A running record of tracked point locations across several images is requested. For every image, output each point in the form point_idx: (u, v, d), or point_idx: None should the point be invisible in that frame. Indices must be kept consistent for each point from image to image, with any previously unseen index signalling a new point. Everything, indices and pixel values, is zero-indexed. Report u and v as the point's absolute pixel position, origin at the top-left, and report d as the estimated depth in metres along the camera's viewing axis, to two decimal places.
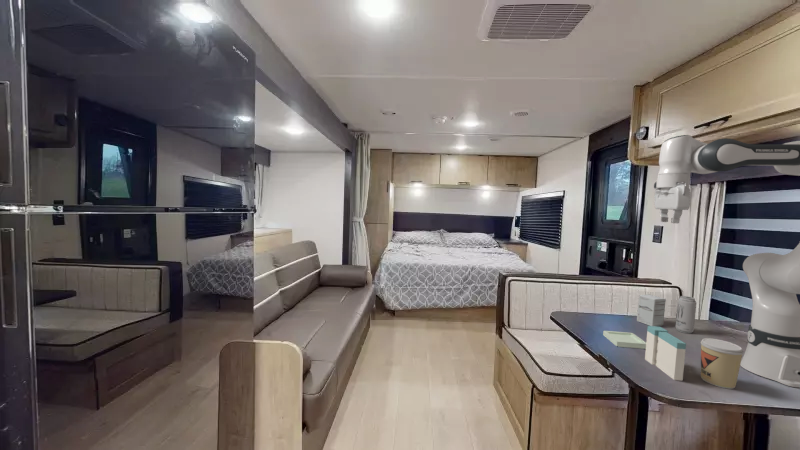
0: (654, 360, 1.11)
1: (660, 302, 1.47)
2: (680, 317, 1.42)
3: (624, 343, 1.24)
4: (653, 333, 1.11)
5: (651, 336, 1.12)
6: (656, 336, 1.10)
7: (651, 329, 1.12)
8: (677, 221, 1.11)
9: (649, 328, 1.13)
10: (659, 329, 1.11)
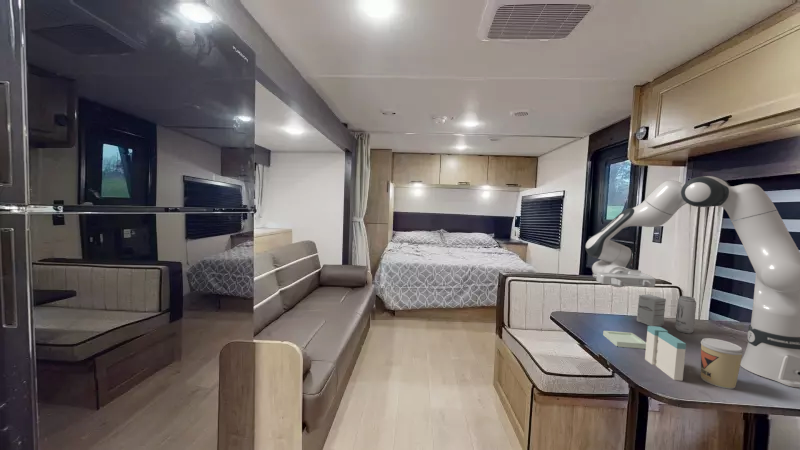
0: (654, 360, 1.11)
1: (660, 302, 1.47)
2: (680, 317, 1.42)
3: (624, 343, 1.24)
4: (653, 333, 1.11)
5: (651, 336, 1.12)
6: (656, 336, 1.10)
7: (651, 329, 1.12)
8: (619, 282, 1.26)
9: (649, 328, 1.13)
10: (659, 329, 1.11)
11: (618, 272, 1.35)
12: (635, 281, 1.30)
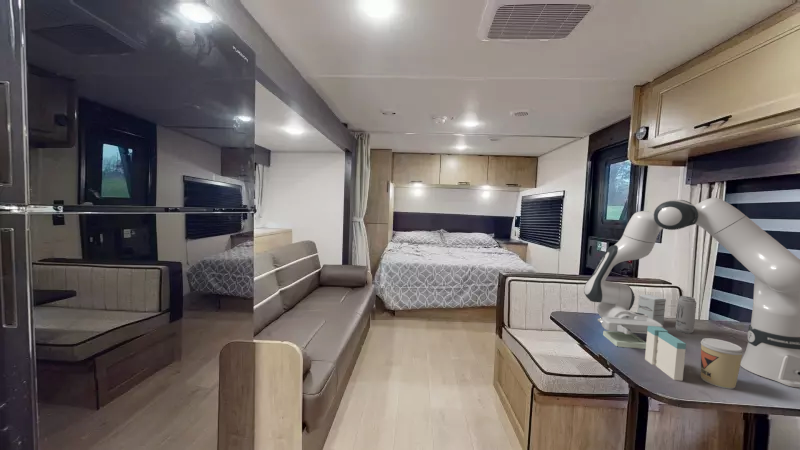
0: (654, 360, 1.11)
1: (660, 302, 1.47)
2: (680, 317, 1.42)
3: (624, 343, 1.24)
4: (653, 333, 1.11)
5: (651, 336, 1.12)
6: (656, 336, 1.10)
7: (651, 329, 1.12)
8: (625, 330, 1.22)
9: (649, 328, 1.13)
10: (659, 329, 1.11)
11: (624, 317, 1.31)
12: (642, 328, 1.26)
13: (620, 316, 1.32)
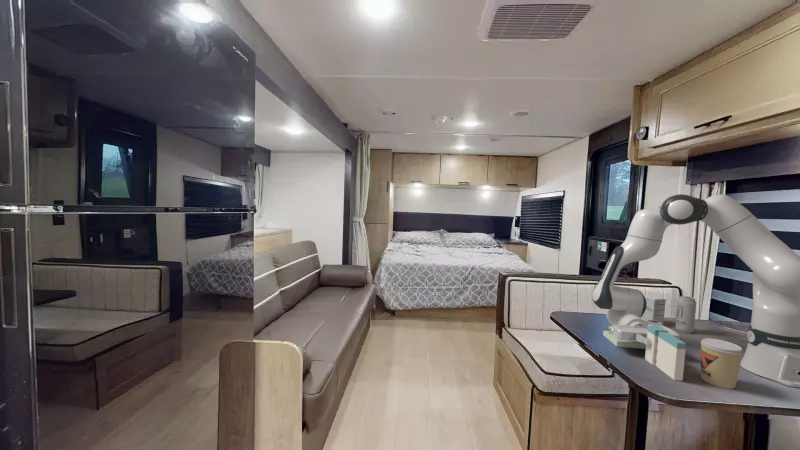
0: (654, 360, 1.11)
1: (660, 302, 1.47)
2: (680, 317, 1.42)
3: (624, 343, 1.24)
4: (653, 333, 1.11)
5: (651, 336, 1.12)
6: (656, 336, 1.10)
7: (651, 329, 1.12)
8: (646, 340, 1.13)
9: (649, 328, 1.13)
10: (659, 329, 1.11)
11: (637, 325, 1.22)
12: None
13: (632, 324, 1.23)
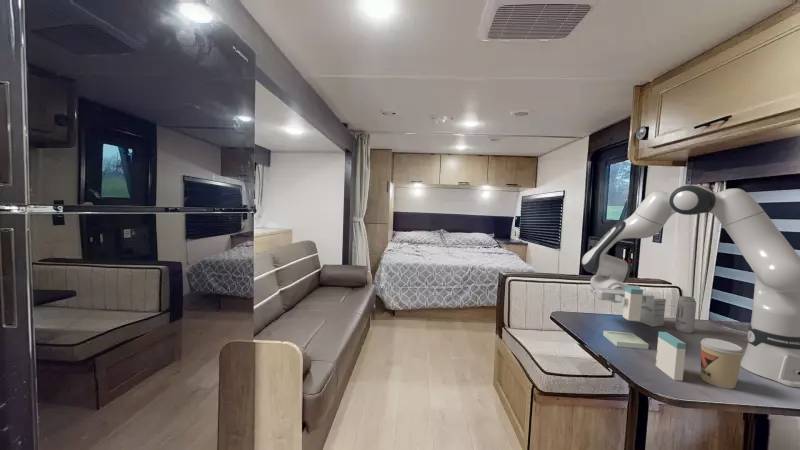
0: (630, 316, 1.24)
1: (660, 302, 1.47)
2: (680, 317, 1.42)
3: (624, 343, 1.24)
4: (630, 292, 1.24)
5: (628, 295, 1.24)
6: (632, 294, 1.23)
7: (628, 289, 1.25)
8: (623, 299, 1.25)
9: (626, 288, 1.26)
10: (635, 288, 1.24)
11: (617, 288, 1.34)
12: None
13: (613, 287, 1.35)
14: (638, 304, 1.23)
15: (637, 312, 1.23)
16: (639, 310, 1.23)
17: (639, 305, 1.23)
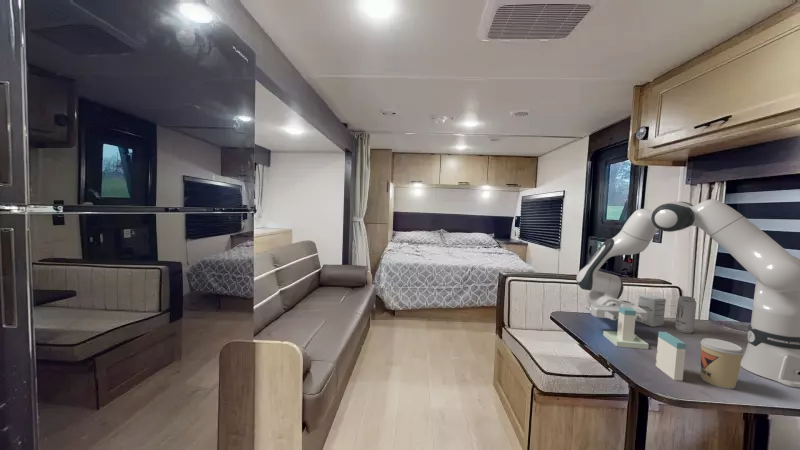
0: (624, 336, 1.28)
1: (660, 302, 1.47)
2: (680, 317, 1.42)
3: (624, 343, 1.24)
4: (623, 313, 1.28)
5: (622, 316, 1.29)
6: (626, 315, 1.27)
7: (622, 310, 1.29)
8: (612, 316, 1.29)
9: (620, 309, 1.30)
10: (628, 309, 1.28)
11: (611, 304, 1.38)
12: None
13: (608, 304, 1.39)
14: (631, 325, 1.27)
15: (631, 333, 1.27)
16: (633, 330, 1.27)
17: (632, 326, 1.27)
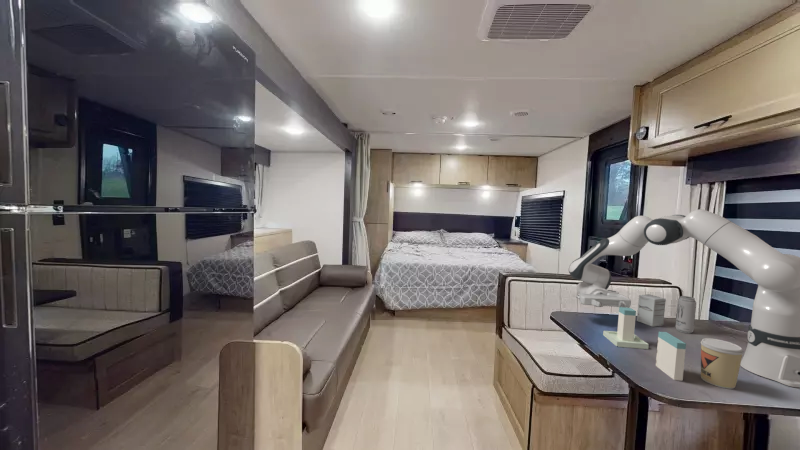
0: (624, 336, 1.28)
1: (660, 302, 1.47)
2: (680, 317, 1.42)
3: (624, 343, 1.24)
4: (623, 313, 1.28)
5: (622, 316, 1.29)
6: (626, 315, 1.27)
7: (622, 310, 1.29)
8: (598, 303, 1.42)
9: (620, 309, 1.30)
10: (628, 309, 1.28)
11: (598, 293, 1.51)
12: (613, 302, 1.46)
13: (595, 293, 1.52)
14: (631, 325, 1.27)
15: (631, 333, 1.27)
16: (633, 330, 1.27)
17: (632, 326, 1.27)
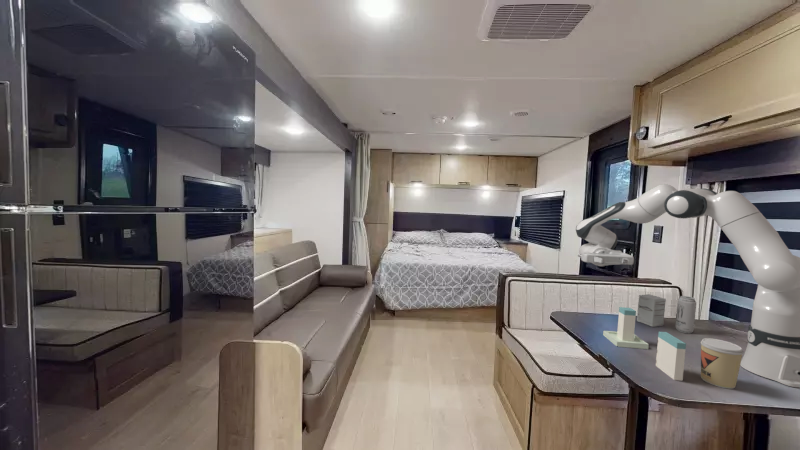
0: (624, 336, 1.28)
1: (660, 302, 1.47)
2: (680, 317, 1.42)
3: (624, 343, 1.24)
4: (623, 313, 1.28)
5: (622, 316, 1.29)
6: (626, 315, 1.27)
7: (622, 310, 1.29)
8: (600, 259, 1.40)
9: (620, 309, 1.30)
10: (628, 309, 1.28)
11: (601, 252, 1.49)
12: (615, 260, 1.44)
13: (597, 252, 1.50)
14: (631, 325, 1.27)
15: (631, 333, 1.27)
16: (633, 330, 1.27)
17: (632, 326, 1.27)
